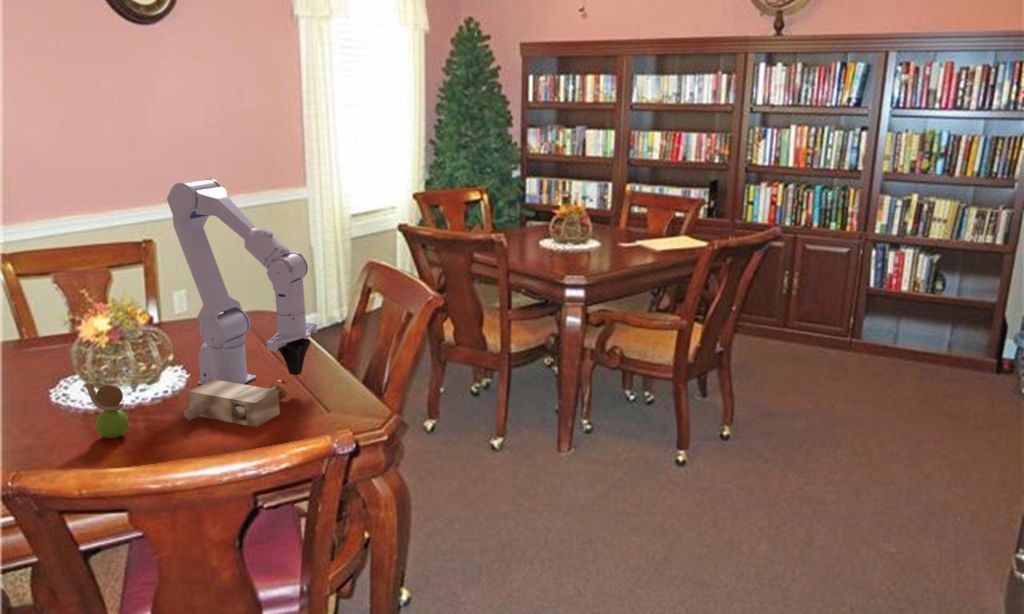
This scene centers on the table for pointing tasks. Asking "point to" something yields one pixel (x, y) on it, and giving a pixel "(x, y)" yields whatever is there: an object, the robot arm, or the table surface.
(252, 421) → the beige block with pegs
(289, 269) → the robot arm
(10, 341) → the table surface
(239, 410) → the lynch pin
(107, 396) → the snail figurine
